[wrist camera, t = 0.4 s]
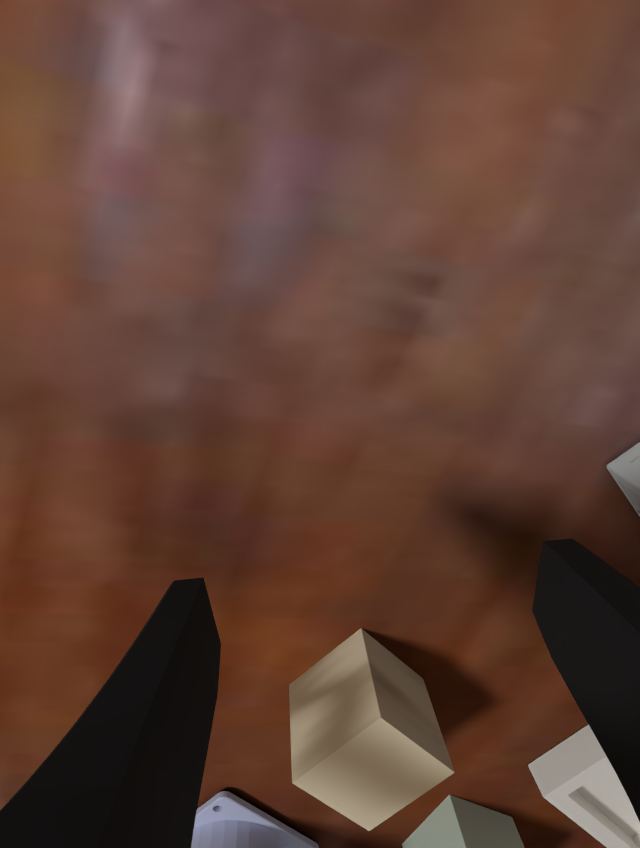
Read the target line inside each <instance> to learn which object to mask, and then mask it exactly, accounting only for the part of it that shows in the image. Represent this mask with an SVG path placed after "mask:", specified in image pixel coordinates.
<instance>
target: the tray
mask: <svg viewBox="0 0 640 848" xmlns="http://www.w3.org/2000/svg"><path fill="white" fill-rule="evenodd" d="M528 766H529V768H530V770H531V773H532V775H533V777H534V779H535V781H536V783H537V785H538V787H539V789H540V791H541V793H542V796H543V797H544V798H545V799H546V800H548V801H549V802H550V803H551V804H553V805H554V806H555V807H556V808H558V809H559V810H560V811H562V812H563V813H564V814H565V815H567V816H568V817H569V818H570V819H572V820H573V821H574V822H575V823H577V824H578V825H579V826H580V827H582V828H583V829H584V830H585V831H587V832H588V833H589V834H590V835H592V836H593V837H594V838H596V839H597V840H598V841H599V842H601V843H602V844H603V845H604V846H606V847H607V848H640V822H639V819H638V817H637V815H636V813H635V811H634V808H633V806H632V804H631V802H630V800H629V798H628V796H627V794H626V792H625V790H624V788H623V786H622V784H621V782H620V780H619V778H618V776H617V774H616V772H615V770H614V769H613V767H612V765H611V763H610V762H609V760H608V758H607V756H606V754H605V753H604V751H603V749H602V747H601V746H600V744H599V742H598V740H597V738H596V737H595V735H594V733H593V731H592V729H591V728H590V726H589V724H588V725H587V726H585V727H584V728H582V729H581V730H579V731H578V732H576V733H575V734H573V735H572V736H570V737H569V738H567V739H566V740H564V741H563V742H561V743H560V744H558V745H557V746H555V747H554V748H552V749H551V750H549V751H548V752H546V753H545V754H543V755H542V756H540V757H539V758H537V759H536V760H534V761H533V762H531V763H530V764H528Z"/></svg>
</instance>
